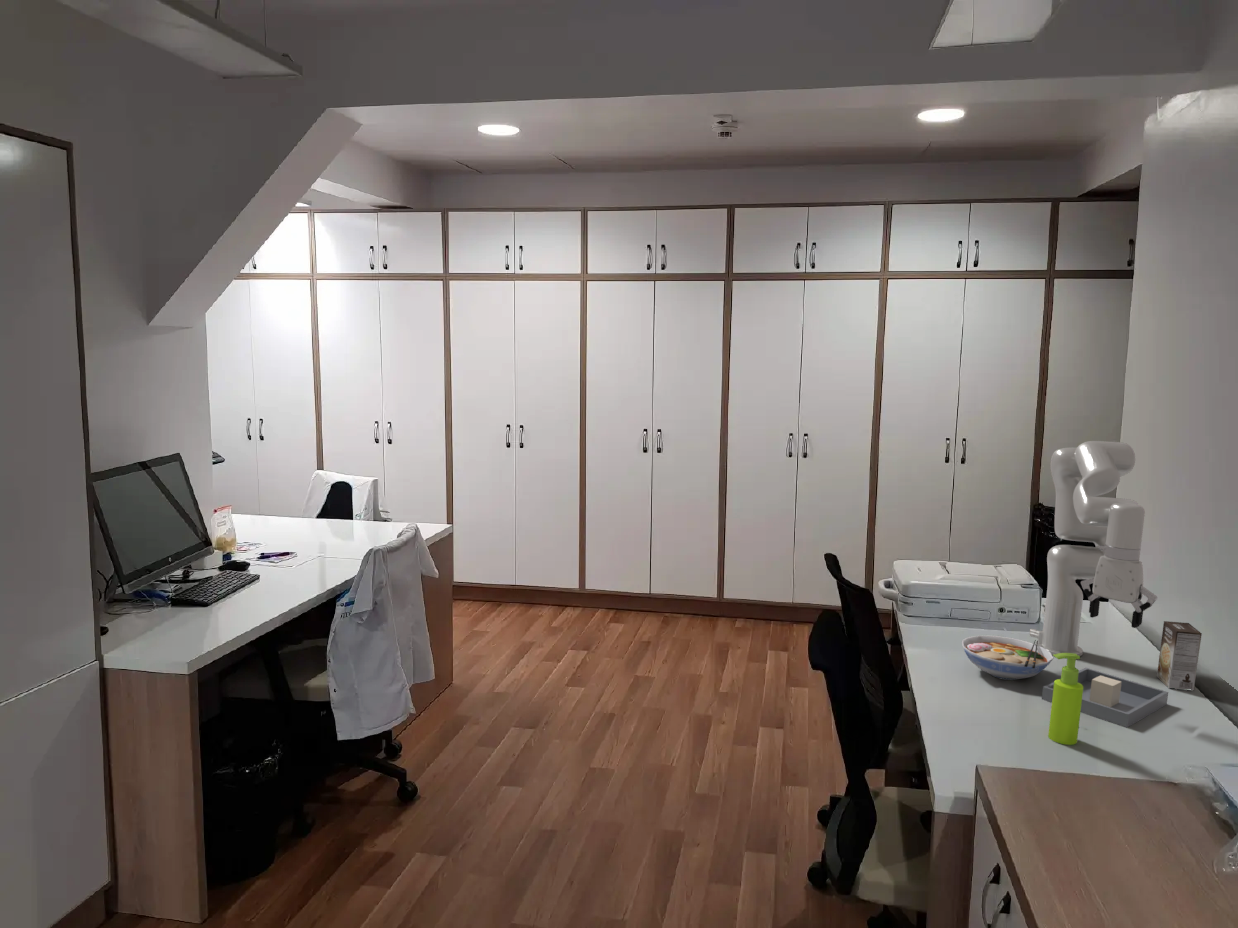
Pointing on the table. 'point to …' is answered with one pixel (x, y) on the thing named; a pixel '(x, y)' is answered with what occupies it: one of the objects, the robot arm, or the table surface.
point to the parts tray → (1131, 704)
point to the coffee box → (1179, 655)
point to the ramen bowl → (1006, 656)
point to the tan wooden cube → (1105, 691)
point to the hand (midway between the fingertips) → (1114, 621)
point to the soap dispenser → (1066, 703)
